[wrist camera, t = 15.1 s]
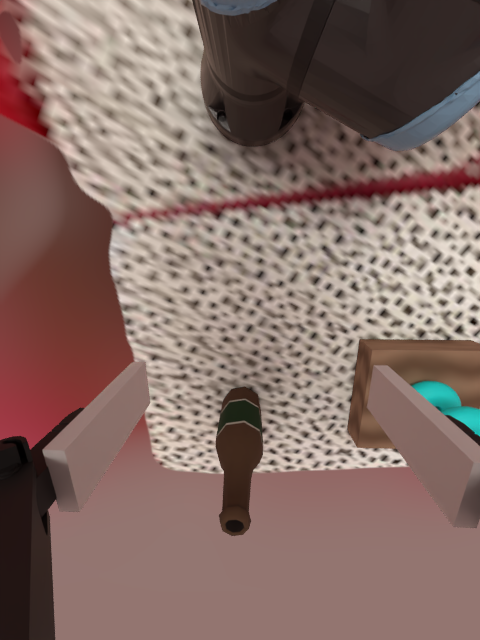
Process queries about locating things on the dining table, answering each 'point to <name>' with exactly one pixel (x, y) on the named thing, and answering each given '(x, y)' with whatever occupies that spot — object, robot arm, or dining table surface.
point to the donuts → (449, 403)
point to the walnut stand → (411, 377)
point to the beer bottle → (238, 456)
